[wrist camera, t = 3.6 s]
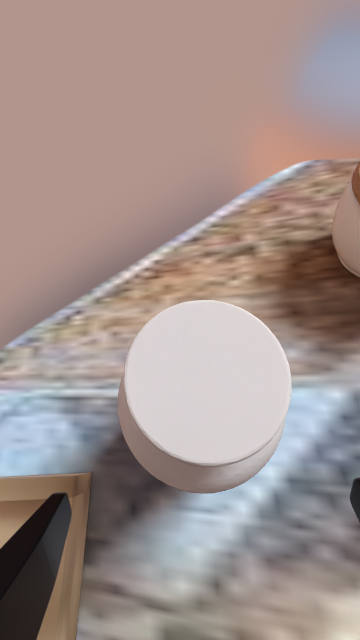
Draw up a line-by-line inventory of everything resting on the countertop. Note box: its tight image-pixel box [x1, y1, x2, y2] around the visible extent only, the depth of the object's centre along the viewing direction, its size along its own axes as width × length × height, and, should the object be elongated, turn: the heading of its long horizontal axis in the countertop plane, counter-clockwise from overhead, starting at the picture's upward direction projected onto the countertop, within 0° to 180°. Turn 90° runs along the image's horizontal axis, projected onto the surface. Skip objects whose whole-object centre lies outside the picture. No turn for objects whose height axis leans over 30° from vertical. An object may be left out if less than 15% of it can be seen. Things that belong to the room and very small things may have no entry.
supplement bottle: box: [118, 300, 291, 493], centre depth 13 cm, size 7×7×13 cm
